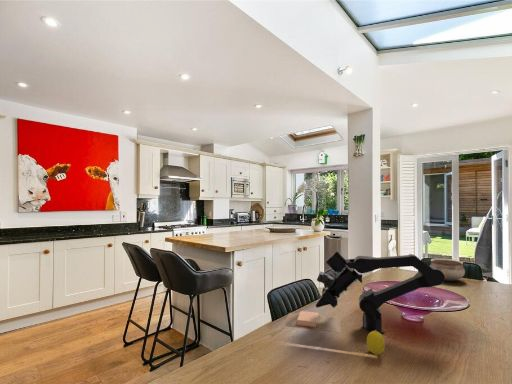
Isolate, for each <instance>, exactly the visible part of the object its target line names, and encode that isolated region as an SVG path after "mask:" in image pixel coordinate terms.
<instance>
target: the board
mask: <svg viewBox="0 0 512 384" xmlns="http://www.w3.org/2000/svg"><path fill="white" fill-rule="evenodd" d="M299 314H300V313H293V312H288V315H287V317H286V319H285V321H284V322H283V324H282V325H283V327H291V328H298V329H306V330H307V329H308V330H313V331H314V330H315V331H321V332H329V333H337V334H341V326H342V325H341V323H342V321H341V320H342V319H341V318H340V317H339V318H338V317H329V316H319V315H318V322H317V326H316V327H311V326H302V325H297V319H298V317H299Z"/></svg>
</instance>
